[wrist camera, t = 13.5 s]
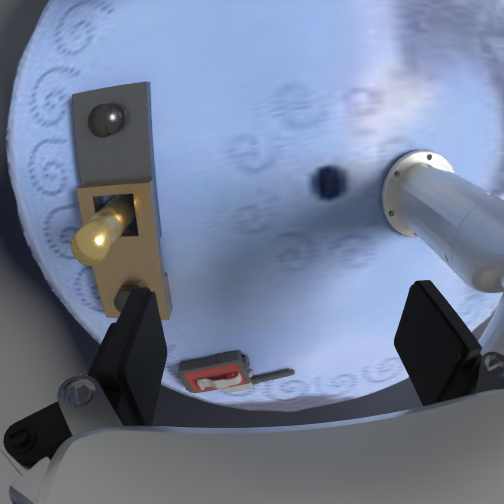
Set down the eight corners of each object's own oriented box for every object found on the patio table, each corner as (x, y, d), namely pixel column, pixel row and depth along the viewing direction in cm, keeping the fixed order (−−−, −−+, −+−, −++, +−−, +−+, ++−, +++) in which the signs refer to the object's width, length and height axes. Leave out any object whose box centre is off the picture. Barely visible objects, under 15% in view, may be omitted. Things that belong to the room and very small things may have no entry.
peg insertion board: (150, 81, 33) (137, 80, 29) (172, 307, 48) (166, 328, 44) (77, 94, 33) (58, 95, 29) (112, 305, 48) (102, 325, 43)
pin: (142, 201, 40) (109, 241, 30) (131, 226, 42) (99, 272, 31) (116, 188, 39) (75, 224, 29) (106, 214, 41) (67, 255, 30)
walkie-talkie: (192, 390, 58) (295, 369, 56) (190, 408, 54) (298, 388, 52) (172, 361, 54) (284, 336, 52) (168, 379, 50) (287, 355, 48)
